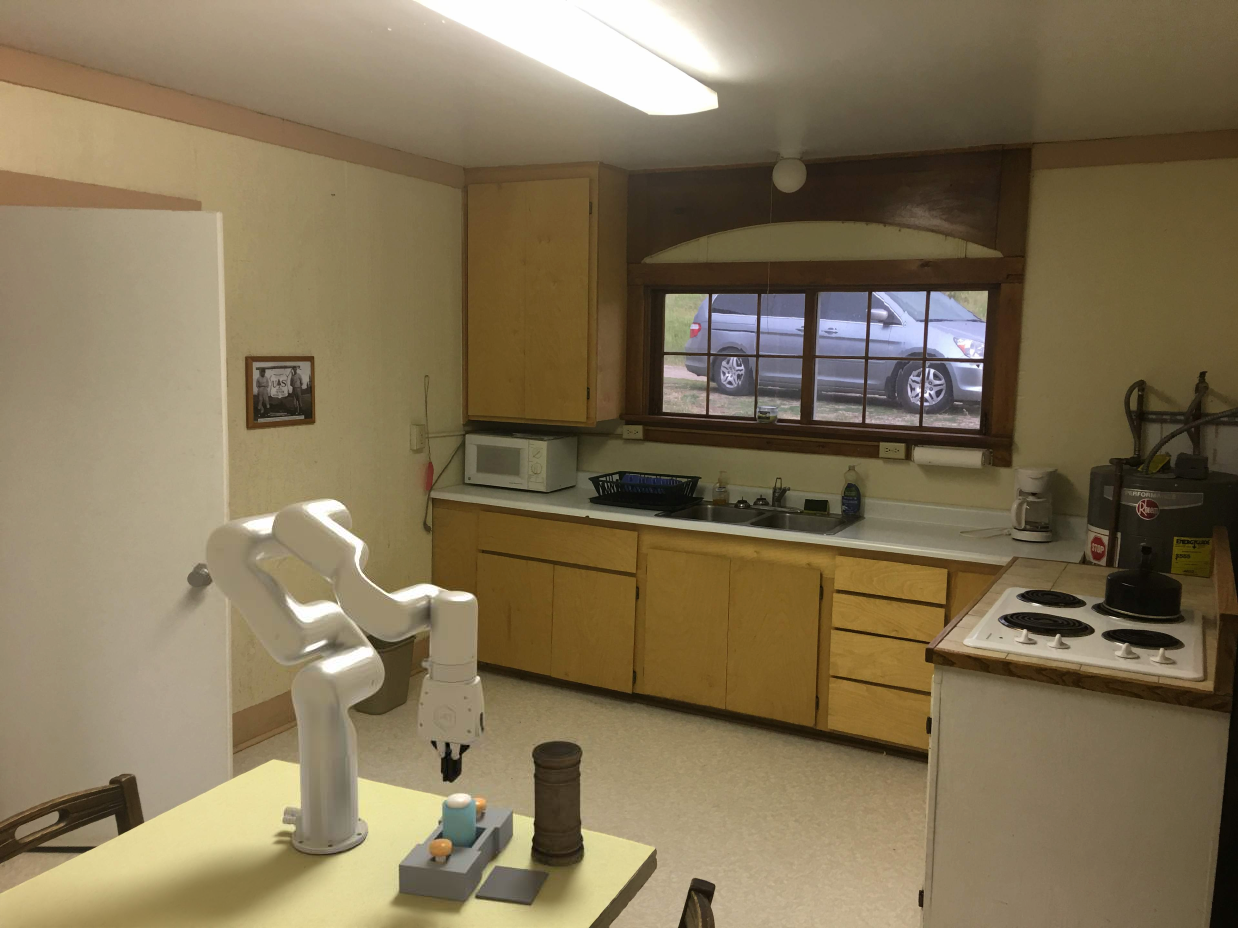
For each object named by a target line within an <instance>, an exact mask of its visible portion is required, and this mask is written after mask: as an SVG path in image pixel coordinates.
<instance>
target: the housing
mask: <svg viewBox="0 0 1238 928" xmlns="http://www.w3.org/2000/svg"><path fill="white" fill-rule="evenodd" d="M437 821H438V826H436V828H435V829H434V830H433V831H432V832H431V833H430V834H429V836H428V837H427V838H426V839H425V841H424V842H423V843H416V844H415V846H414V847H413V848H412V849H411V850H410V852H409V853H408V854H407V855H405V857H404V858H403V859H402V860H401V861H400V862H399V864H398V893H401V894H408V895H416V896H422V897H423V896H425V897H431V898H439V899H446V900H453V901H454V900H455V901H460V902H466V901H467V900H468V899H469V897H470V896H471V895H472V893H473V892H474V890H475V888H476V887H477V886H478V884H479V883H480V882H481V880H482V879H483V870H484V869H485V868H486V866H487V864H488V863H489V862H490V860H491V859H492V858H493V856H494V855H495V854H500V853H501V852H502V851H503V849H504V848H505V847H506V845H507V843H508V842H509V841H510V839H511V838H512V837H513V835H514V809H512V808H511V809H510V808H501V807H493V806H492V807H491V806H486V810H485V811H483V812H481V819H476V843H475V844H474V845H473V846H472V848H466V847H458V846H452V851H451V853H450V854H448V855H446V863H441V862H436V857H435V856H432V855H431V854H430V843H431V842H432V841H434V840H437V839H443V826H442V816H441V817H440V818H439V819H438V820H437Z"/></svg>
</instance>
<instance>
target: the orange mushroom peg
mask: <svg viewBox="0 0 1238 928" xmlns="http://www.w3.org/2000/svg"><path fill="white" fill-rule="evenodd" d="M472 798H473V797H472ZM473 799H474V800H475V802H476V819H481V812H483V811H485V810H486V807H487V800H486V799H484V798H482V797H474V798H473Z"/></svg>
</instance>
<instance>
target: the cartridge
mask: <svg viewBox="0 0 1238 928" xmlns="http://www.w3.org/2000/svg"><path fill="white" fill-rule="evenodd" d="M441 805H442V806H441V807H442V808H441V810H442V812H441V815H442V816H441V817H442V826H443V839H448V840H450V841H451V843H452V846H458V847H466V848H472V846H473V845H474V844H475V843H476V802H475V800H474V799H473V797H472V796H471V795H470V794H467V793H453V794H451V795H449V796H447V798H446V799H444V801H443V802H442V803H441Z"/></svg>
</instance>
